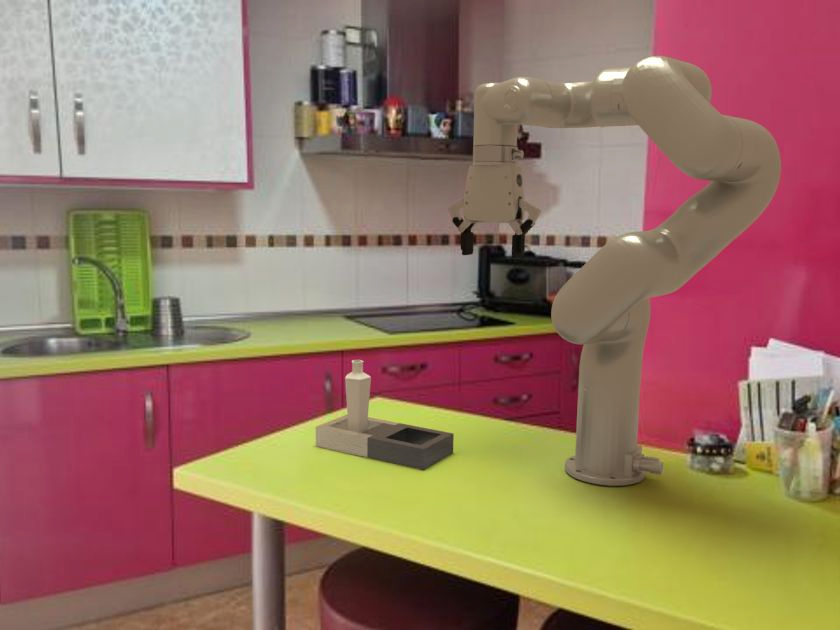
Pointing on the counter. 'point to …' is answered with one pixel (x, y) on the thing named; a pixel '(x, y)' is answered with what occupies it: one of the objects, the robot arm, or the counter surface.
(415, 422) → the counter surface
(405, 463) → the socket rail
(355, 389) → the perfume bottle
